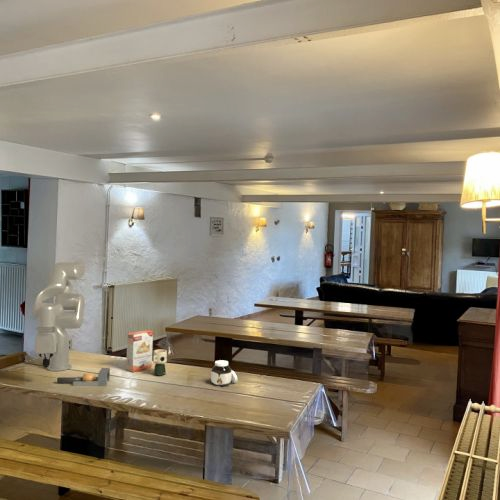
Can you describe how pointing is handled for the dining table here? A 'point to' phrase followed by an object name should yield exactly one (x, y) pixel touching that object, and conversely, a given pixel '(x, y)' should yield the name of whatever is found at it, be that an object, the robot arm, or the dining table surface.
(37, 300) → the robot arm
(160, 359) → the character mug
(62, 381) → the grey and orange rod
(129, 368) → the cracker box
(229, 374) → the spread jar
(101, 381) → the tunnel block
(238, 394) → the dining table surface
